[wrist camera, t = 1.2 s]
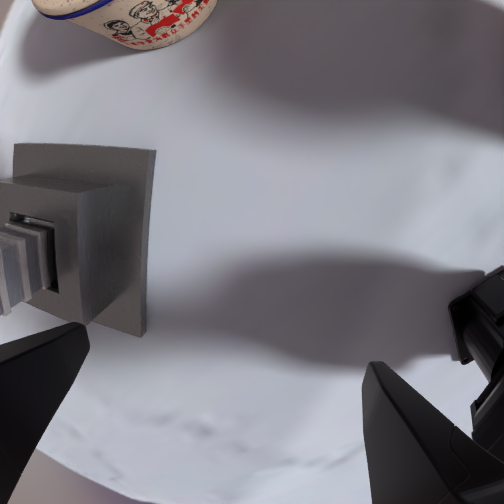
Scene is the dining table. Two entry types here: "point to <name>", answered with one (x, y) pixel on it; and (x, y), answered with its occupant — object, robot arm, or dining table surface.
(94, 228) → the stand base
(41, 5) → the teacup with lid
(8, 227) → the column
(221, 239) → the dining table surface
